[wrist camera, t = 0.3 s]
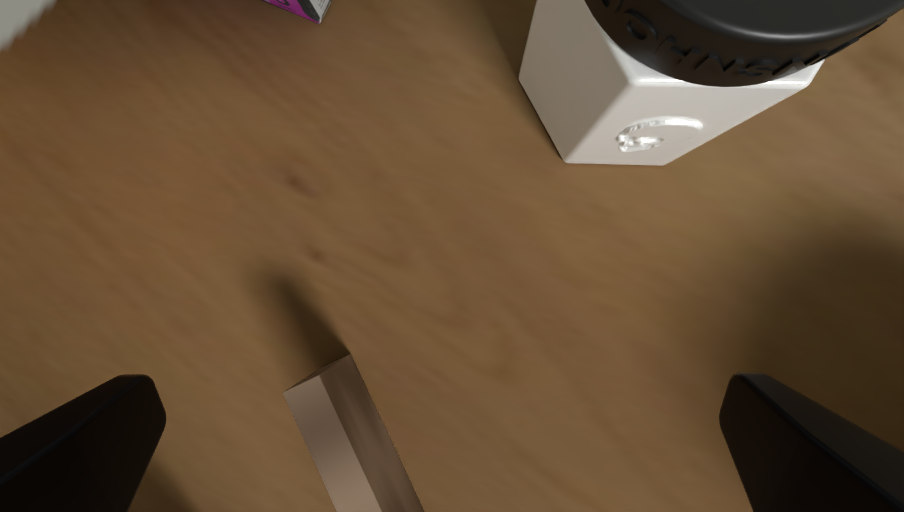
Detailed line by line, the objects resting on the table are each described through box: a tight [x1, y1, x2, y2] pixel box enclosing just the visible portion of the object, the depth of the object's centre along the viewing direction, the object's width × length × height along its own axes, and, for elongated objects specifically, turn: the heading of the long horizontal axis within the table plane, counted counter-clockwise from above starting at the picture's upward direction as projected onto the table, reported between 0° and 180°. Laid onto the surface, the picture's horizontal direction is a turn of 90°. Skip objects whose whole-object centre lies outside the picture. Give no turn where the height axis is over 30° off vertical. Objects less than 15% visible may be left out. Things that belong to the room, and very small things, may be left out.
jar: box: [519, 0, 904, 165], centre depth 16 cm, size 9×8×12 cm
